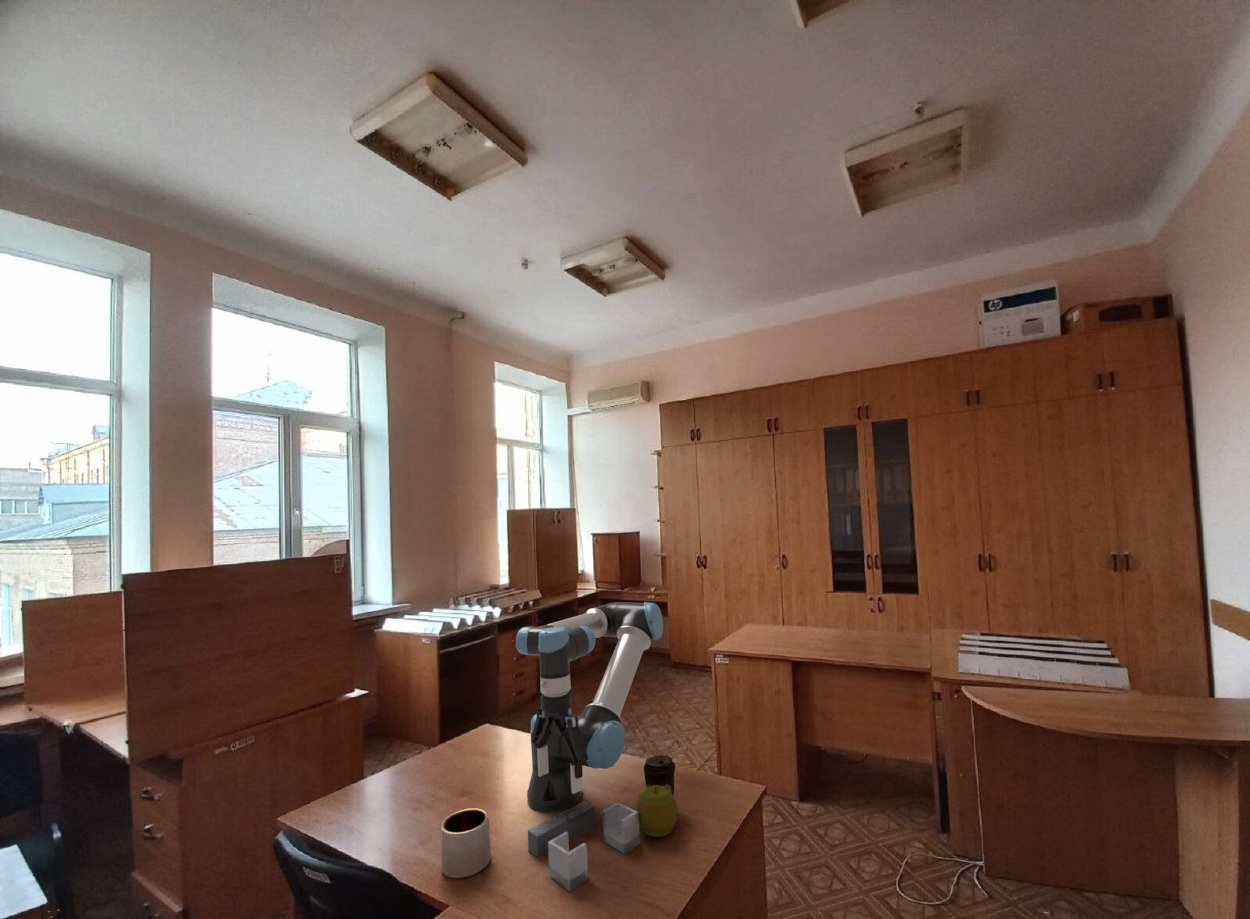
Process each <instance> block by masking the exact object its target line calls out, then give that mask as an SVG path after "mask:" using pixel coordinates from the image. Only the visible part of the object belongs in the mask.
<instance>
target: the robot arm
mask: <svg viewBox="0 0 1250 919" xmlns="http://www.w3.org/2000/svg"><path fill="white" fill-rule="evenodd" d="M663 631H664V621H663V614H662V611H661V608H660V607H659V606H658V604H656V603H654V602H647V601H644V602H626V601H625V602H624V601H623V602H622V601H615V602H610V603H606V604H602V605H599V606H595V607H592V608H589V609H587V611H586V612H585V613H582V614H579V615H575V616H572V617H568V618H565V619H562V620H558V621H555V622H551V623H548V624H544V625H540V626H524V627H522V628H520V629H519V630H518V632H517V634H516V637H515V648H516V650H517V651H518V653H519V654H522V655H526V656H529V657H531V656H538V659H539V661H538V662H539V678H540V679H539V680H540V693H541V694H540V708H537V709H536V714H534V715H533V716H532V718H531V719H530V732H529V733H530V747H531V763H532V771H531V772H532V773H531V776H530V780H529V784H528V789H527V791H526V797H527V798H526V799H527V801H526V802H527V804H528V807H530V808H531V809H533V810H536V811H541V812H556V811H560V810H564V809H565V810H566V809H567V808H569V807H571V806H572V807H573V805H575V804H577V802H579V800H580V799H581V797H582V793H583V792H582V790H583V776H584V772H583V767H587V768H591V769H603V770H606V769H609V768H612V767H613V766H615V764H616V763H618V761H619V759H620V757H621V755H622V753H623V751H624V747H625V742H624V741H625V739H626V732H625V728H624V726H623V720H622V718H621V713H622V712H623V708H624V705H625V704H626V703H625V702H626V700H627V697H628V694H629V691H630V689H631V686H632V683H633V681H634V678H635V676H636V672H637V669H638V666H639V664H640V661H641V660H642V659H641V658H642V655H643V654H644V651H647V650H648V649H650V648H651V645H652V642H653V640H654V641H657V640H660V639H661V638H662V635H663ZM601 637H606V638H607V637H610V638H617V639H618V641H617V643H616V646H615V648H614V651H613V653H612V656H611V657H610V660H609V662H608V665H607V667H606V668H605V671H604V675H603V678H602V680H600V681H601V682H600V684H599V687H598V689H597V691H596V694H595V696H594V698H593V701H592V703H589V704H587V705H585V706H584V709H583V711H582V713H581V715H580V716H578V715H577V716H576V715H572V714H573V711H572V709H571V707H572V692H571V689H572V687H571V684H572V683H571V672H570V663H571V662H573V661H575V660H577V659H579V658H582V657H584V656H586V655H588V654H589V653H591V652H592V651H593V650H594V648H595V645H596V639H598V638H601Z"/></svg>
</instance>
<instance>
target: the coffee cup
mask: <svg viewBox="0 0 1250 919" xmlns="http://www.w3.org/2000/svg"><path fill="white" fill-rule="evenodd" d="M675 773H676V763H675V762H673V758H672V757H670V756H669V755H663V754H658V755H654V756H652V757H649V758H647V759H646V760H645V763H644V765H643V774H644V781H645V790H646V789H647V788H649V787H651V786H653V785H659V786H663V787H665V788H666V789H667V790H668V791H669V792H670V793H671V794H672V795H673V797H674V796H675V787H676V786H675ZM674 798H675V797H674Z"/></svg>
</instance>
